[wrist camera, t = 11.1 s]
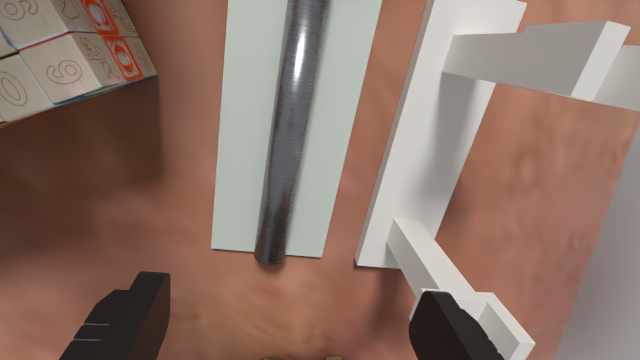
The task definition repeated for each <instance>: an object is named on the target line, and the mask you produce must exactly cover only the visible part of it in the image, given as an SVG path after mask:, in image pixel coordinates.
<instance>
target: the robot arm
mask: <svg viewBox="0 0 640 360" xmlns="http://www.w3.org/2000/svg"><path fill="white" fill-rule="evenodd" d="M169 317H170V274H169V273H159V272H144V271H141V272H140V273H139V274H138V275H137V277H136V278H135V280H134V282H133V284H132V285H131V287H130V289H129V290H114V291H112V292H111V293H110V294H109V295H107V296H106V297H105V298H103V299H102V300H101V301H100V302H98V303H97V304H96V305H95V307H94V308H93V310H92V311H91V313H90V314H89V316H88V317H87V319H86V320H85V322H84V325H83V326H81V328H80V329H79V331H78V332H77V333H76V335H75V336H74V340H73V341H71V342H70V344H69V345H68V347H67V348H66V350H65V351H64V353H63V354H62V356H61V357H60V359H59V360H156V358H157V356H158V353H159V350H160V348H161V345H162V342H163V340H164V337H165V334H166V331H167V327H168V323H169ZM409 337H410V342H411V344H412V347H413V349H414V351H415V353H416V356H417V358H418V360H505V359H504V358H503V357H502V355H501V354H500V353H498V352H497V348H496V347H495V345H494V344H493V342H492V341H491V340H489V338H488V335H487V334H486V333H485V331H484V330H483V328H482V327H481V325H480V324H479V323H478V322H477V321H476V320H475V319H474V318H473V317H472V316H471V315H470V314H469V313H467V312H466V311H465V310H464V309H461V308H460V307H459V305H458V304H457V302H456V301H455V299H454V298H453V296H452V295H451V294H450V293H448V292H442V291H424V292H423V293H422V295H421V298H420V300H419V302H418V305H417V307H416V310H415V312H414V314H413V317H412V319H411V321H410V325H409Z"/></svg>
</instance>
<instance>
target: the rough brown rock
mask: <svg viewBox="0 0 640 360" xmlns="http://www.w3.org/2000/svg"><path fill="white" fill-rule="evenodd" d="M263 360H281V359H277V358H268V357H266V358H265V359H263ZM325 360H344V359H343V358H342V357H341V356H331V357H327V358H326V359H325Z"/></svg>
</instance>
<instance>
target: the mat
mask: <svg viewBox="0 0 640 360" xmlns="http://www.w3.org/2000/svg"><path fill="white" fill-rule="evenodd" d="M287 1H288V0H228V14H227V28H226V42H225V56H224V71H223V85H222V99H221V113H220V128H219V142H218V156H217V170H216V184H215V199H214V213H213V227H212V241H211V248H213V249H225V250H237V251H249V252H254V248H255V240H256V233H257V225H258V218H259V210H260V203H261V195H262V188H263V181H264V173H265V166H266V158H267V151H268V143H269V136H270V128H271V121H272V113H273V106H274V98H275V91H276V83H277V76H278V68H279V61H280V53H281V46H282V38H283V31H284V23H285V16H286V8H287ZM381 4H382V0H331V3H330V9H329V14H328V20H327V25H326V31H325V37H324V42H323V48H322V53H321V59H320V64H319V70H318V75H317V81H316V86H315V92H314V97H313V103H312V109H311V114H310V120H309V125H308V131H307V136H306V142H305V147H304V153H303V158H302V164H301V169H300V175H299V180H298V186H297V192H296V197H295V203H294V208H293V214H292V219H291V225H290V230H289V236H288V241H287V247H286V252H285V255H297V256H309V257H322V253H323V249H324V245H325V241H326V236H327V232H328V228H329V224H330V219H331V215H332V211H333V207H334V202H335V198H336V194H337V190H338V186H339V181H340V177H341V173H342V169H343V164H344V160H345V156H346V152H347V147H348V143H349V139H350V135H351V131H352V126H353V122H354V118H355V114H356V109H357V105H358V101H359V97H360V92H361V88H362V84H363V80H364V76H365V71H366V67H367V63H368V59H369V54H370V50H371V46H372V42H373V37H374V33H375V29H376V25H377V21H378V16H379V12H380V8H381Z"/></svg>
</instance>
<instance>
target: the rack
mask: <svg viewBox="0 0 640 360" xmlns="http://www.w3.org/2000/svg"><path fill="white" fill-rule="evenodd" d="M526 6H527V3H524V2H520V1H516V0H427V3H426V7H425V10H424V14H423V17H422V21H421V24H420V28H419V31H418V35H417V38H416V42H415V45H414V49H413V52H412V56H411V59H410V63H409V66H408V70H407V73H406V77H405V80H404V84H403V87H402V91H401V94H400V98H399V101H398V105H397V108H396V112H395V115H394V119H393V122H392V126H391V130H390V133H389V137H388V140H387V144H386V147H385V151H384V154H383V158H382V161H381V165H380V168H379V172H378V175H377V179H376V182H375V186H374V189H373V193H372V196H371V200H370V203H369V207H368V210H367V214H366V217H365V221H364V224H363V228H362V231H361V235H360V238H359V242H358V245H357V249H356V252H355V256H354V258H355V261H356V264H357V265H358V266H371V267H383V268H396V269H401V270H402V272H403V274H404V276H405V278H406V280H407V281H408V283H409V285H410V287H411V289H412V291H413V293H414V294H415V296H416V298H417V299H416V301H415V304H414V306H413V309H412V311H411V314H410V316H409V319H410V321H411V319H412V317H413V314H414V312H415V310H416V307H417V305H418V302H419V300H420V298H421V295H422V293H423V292H424V291H442V292H448V293H450V294H451V295H452V296H453V298H454V299H455V301H456V302H457V304H458V305H459V307H460V308H461V309H464V310H465V311H466V312H467V313H469V314H470V315H471V316H472V317H473V318H474V319H475V320H476V321H477V322H478V323H479V324H480V325H481V327H482V328H483V330H484V331H485V333H486V334H487V335H488V338H489V340H491V341H492V342H493V344H494V345H495V347H496V348H497V352H498V353H500V354H501V355H502V357H503V358H504V359H505V360H525V359H526V358H527V356H528V355H529V353H530V351H531V350H532V348H533V347H534V345H535V344H536V343H535V342H534V341H533V340H532V339H531V337H530V336H529V335H528V334H527V333H526V331H525V330H524V329H523V328H522V327H521V326H520V324H519V323H518V322H517V321H516V320H515V319H514V317H513V316H512V315H511V314H510V313H509V311H508V310H507V309H506V308H505V307H504V306H503V304H502V303H501V302H500V301H499V300H498V298H497V297H496V296H495V295H494V294H493V293H484V292H475V291H474V290H473V289H472V287H471V286H470V285H469V284H468V282H467V281H466V280H465V278H464V277H463V276H462V275H461V273H460V272H459V271H458V269H457V268H456V267H455V266H454V264H453V263H452V262H451V260H450V259H449V258H448V257H447V255H446V254H445V253H444V251H443V250H442V249H441V248H440V246H439V245H438V244H437V243H436V241H435V240H434V239H435V236H436V234H437V231H438V229H439V226H440V224H441V221H442V219H443V216H444V214H445V211H446V208H447V206H448V203H449V201H450V198H451V196H452V193H453V191H454V188H455V186H456V183H457V181H458V178H459V176H460V173H461V170H462V168H463V165H464V163H465V160H466V158H467V155H468V153H469V150H470V148H471V145H472V143H473V140H474V137H475V135H476V132H477V130H478V127H479V125H480V122H481V120H482V117H483V115H484V112H485V110H486V107H487V104H488V102H489V99H490V97H491V94H492V92H493V89H494V87H495V84H496V83H499V84H504V85H509V86H515V87H520V88H525V89H530V90H535V91H540V92H545V93H550V94H555V95H560V96H565V97H570V98H575V99H580V100H584V101H589V102H594V103H599V104H604V105H609V106H614V107H619V108H624V109H629V110H634V111H639V112H640V45H622V44H623V42H624V40H625V38H626V36H627V34H628V32H629V30H630V28H631V27H629V26H625V25H621V24H618V23H614V22H610V21H593V22H576V23H559V24H542V25H527V26H526V28H525V31H524V33H516V31H517V28H518V26H519V23H520V21H521V18H522V16H523V13H524V11H525V8H526Z"/></svg>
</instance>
